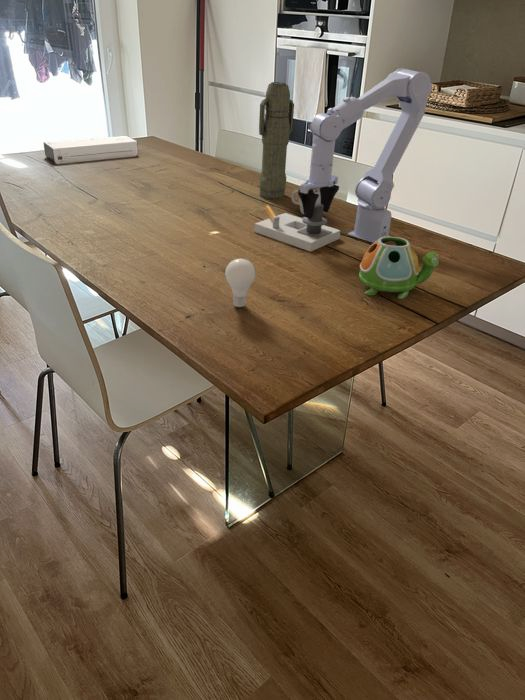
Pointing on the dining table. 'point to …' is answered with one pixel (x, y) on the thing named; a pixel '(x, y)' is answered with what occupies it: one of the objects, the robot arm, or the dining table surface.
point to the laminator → (90, 149)
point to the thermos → (275, 139)
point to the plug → (315, 220)
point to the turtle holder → (394, 267)
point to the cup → (316, 191)
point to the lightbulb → (240, 279)
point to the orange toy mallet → (273, 217)
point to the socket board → (297, 232)
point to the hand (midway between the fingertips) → (316, 214)
